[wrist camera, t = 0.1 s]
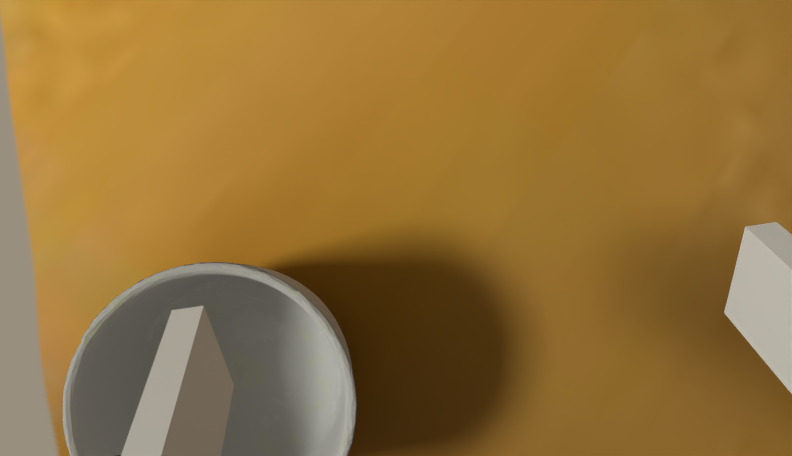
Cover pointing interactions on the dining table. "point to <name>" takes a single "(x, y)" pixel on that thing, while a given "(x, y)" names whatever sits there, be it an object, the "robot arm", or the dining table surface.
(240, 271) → the teacup
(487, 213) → the dining table surface
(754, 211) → the dining table surface
